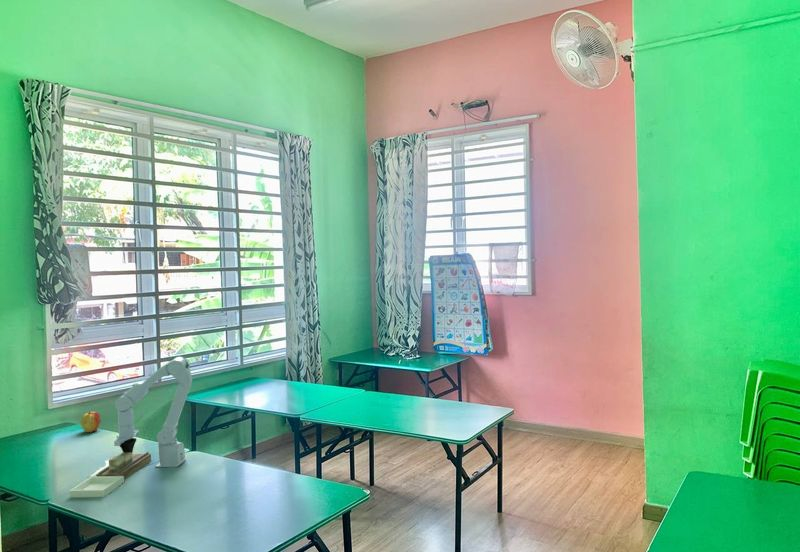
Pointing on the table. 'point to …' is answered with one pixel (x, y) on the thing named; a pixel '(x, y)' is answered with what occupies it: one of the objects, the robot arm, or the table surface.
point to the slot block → (128, 466)
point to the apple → (90, 421)
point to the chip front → (116, 463)
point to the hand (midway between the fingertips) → (128, 457)
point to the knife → (100, 469)
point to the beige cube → (127, 457)
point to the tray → (97, 486)
